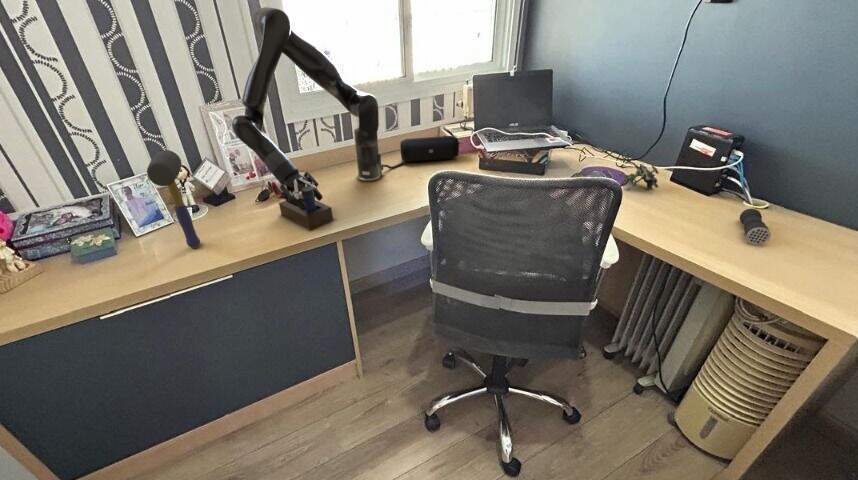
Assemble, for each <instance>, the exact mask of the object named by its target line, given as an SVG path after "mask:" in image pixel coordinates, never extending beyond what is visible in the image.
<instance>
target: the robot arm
mask: <svg viewBox="0 0 858 480" xmlns="http://www.w3.org/2000/svg"><path fill="white" fill-rule="evenodd" d="M252 24H253V28H254V30H255V32H256V34H257V35H258V36H259V38H260V39H261V46H260V49H259V52H258V56H257V58H256V60H255V62H254V64H253V66H252V67H251V70H250V72H249V74H248V76H247V79H246V82H245V85H244V89H243V93H242V94H243V95H242V99H241V103H242V105H243V106H244V114H241V115H239V114H238V115H236V116H235V117H234V118H233V119H232V121H231V128H232V132H233V133H234V134H235V135H236V137H237V138H238V140H240V141H241V142H242V143H243V144H244V145H246V146H247V147H248V148H249V149H250V150H251V151H253V152H254V153H255V154H256V156H257V157H258V158H259V159H260V160H261V162H262V163H263V164H264V165H265V167H266V168H267V170H268V171H269V172H270V173H271V174H272V176H274V177H275V180H278V181H279V182H280V183H281V184H283V185H281V186H280V188H279V189H278V191H279V192H280V193H281V195H282V196H281V197H282V198H283V199H284V201H285V200H286V201H287V202H288V203H289V204H290V203H295V204H296V205H297V206H298V207H299V208H300V209H301V210H303V211H304V210H305V209H306V208H307V206H306V205H305V204H304V203H303V202H302V200H301V199H299V197H298V195H299V194H298V193H299V191H301V189H302V188H304V187H313V190H314V196H315V200H316V201H319V202H321V201H322V200H323V197H324V196H323V195H322V193H321V192H320V191H319V190H318V186H319V182H317V180H316V179H315V178H314V177H313V176H312V175H311V174H310V173H309V172H308V171H305V172H304V173H303V174H301V173H300V172H299V169H298V168H297V167H296V165H295V164H294V163H293V162H292V161H291V159H290V158H289V157H288V156H287V155H286V154H285V152H283V151H282V150H281V149H280V148H279V147H278V146H277V144H276V143H275V142H274V141H273V140H272V139H271V138H270V137H269V136H266V135H265V134H264V133H262V132H263V128H264V118H265V106H266V102H267V100H268V99H267V98H268V95H269V91H270V87H271V84H272V81H273V77H274V75H275V72H276V69H277V66H278V64H279V61H280V59H281V57H282V54H284V55H285V56H286V57H287V58H289V60H291V62H292V63H293V64H294V65H295V66H296V67H297V68H298V69H299V70H300V71H302V72H303V73H304V74H305V75H306V76H307V77H308V78H309V79H310V80H311V81H313V82H314V83H315V84H316V85H318V86H319V87H320V88H321V89H323V90H324V91H325V92H326V93H328V94H329V95H331V96H333V97H334V98H335V99H336V100H337V101H338V102H339V103H340V104H341V105H342V106H343V107H344V108H345V109H346V111H348V113H350V115H352V116H353V117H355V118H357V119H358V127H355V128H354V130H353V134H354V135H353V137H354V144H355V155H356V166H357V177H358V180H360V181H363V182H374V181H377V180H379V179H380V178H381V177H382V176H383V172H382V171H384V168H388V169H392V170H393V169H397V168H398V167H400V166H402V165H404V164H407V163H409V162H407V161H402V162H401V161H400V163H398V164H396V165H393V166H391V165H389V164H383V163H382V157H381V155H382V154H381V152H379V139H378V130H379V127H380V119H379V117H380V116H379V114H380V113H379V103H378V100H377V98H376V97H375V96H374V95H373V94H371V93H368V92H363V91H360V90H359V89H357V88H355V87H354V86H352V84H350V83H349V82H348V81H347V80H346V79H345V77H344V75H343V74H342V72H341V70H340V68H339V67H338V65H337V64H336V63H335V62H334V61H333V60H332V59H331V58H329V56H327V55H326V54H325V53H324V52H323V51H321V49H319V48H317V47H315V46H314V45H312V44H311V43H309V42H308V41H306V40H304V39H303V38H301V36H299V35H297V34H296V33H295V32H294V31H293V30H292V22H291V19H290V18H289V16H288V14H287V13H286V12H285V11H283V9H279V8H276V7H270V6H269V7H268V6H267V7H266V6H265V7H260V8H258V9H257V10H256V11H255V12H254V14H253V16H252ZM300 174H301V175H300ZM288 190H290V192H289V191H288Z"/></svg>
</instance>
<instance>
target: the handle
mask: <svg viewBox="0 0 858 480" xmlns="http://www.w3.org/2000/svg"><path fill="white" fill-rule="evenodd" d="M301 192H302V197H303V202H304V204H305V205H306V206H307V208H306V209H305V211H307V212H309V213H310V212H312V211H314V210H317V208H316V202H315V200H316V197H315V196H314V190H313V187H304V188H302V189H301Z"/></svg>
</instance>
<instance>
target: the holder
mask: <svg viewBox="0 0 858 480" xmlns="http://www.w3.org/2000/svg"><path fill="white" fill-rule="evenodd" d="M298 197H299V199H301V200H302V202H303V197H302V194H301V195H300V194H298ZM315 202H316V208H317V210H314V211H312V212H310V213H309V212H307V211H305V210H304V211H303V210H301V209H300V208H299V207H298V206H297V205H296V204H295V203H290V204H289V203H288V202H287V201H286V200H285V199H284V200H283V201H280V202H278V206H279V209H280V214H281V215H280V216H281V217H284V218H285V219H287V220H289V221H291V222H293V223H294V224H297V225H299V226H301V227H302V228H304V229H306V230H308V231H312V230H315V229H317V228H319V227H321V226H323V225H326V224H328V223H330V222H332V221H334V216H333V210H332V206H330V205H328V204H325V203H323V202H321V201H318V200H317V199H315ZM303 203H304V202H303Z"/></svg>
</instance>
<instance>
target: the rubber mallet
mask: <svg viewBox="0 0 858 480" xmlns="http://www.w3.org/2000/svg"><path fill="white" fill-rule="evenodd" d="M182 165H183V164H182V159H181V158H180V156H179V155H178V154H177V153H176V152H174V151H173V150H169V149H164V150H160V151H159V152H157V153H156V154H155V155H154V156H153V157H152V158H151V160H150V162H149V164H148V166H147V168H146V169H147V170H146V175H147V177H148V179H149V180H150V182H152V184H154V185H156V186H158V187H159V186H160V187H167V189H168V193H169V195H170V197H171V199H172V202H173V206H174V213H175V216H176V219H177V222H178V223H179V225H180V226H181V229H182V231H183V234H184V237H185V241H186V244H187V246H188V247H190V248H191V249H197V248H199V247H200V246H201V239H200V238H199V236H198V235H197V231H196V230H195V227H194V224H193V218H192V216H191V214H190V211H189V210H188V208H187V206H186V205H185V203H184V200H183V198H182V195H181V193H180V190H179V188H178V185H177V182H176V179H177V177H178V176H179V174H180V171H181V169H182Z"/></svg>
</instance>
